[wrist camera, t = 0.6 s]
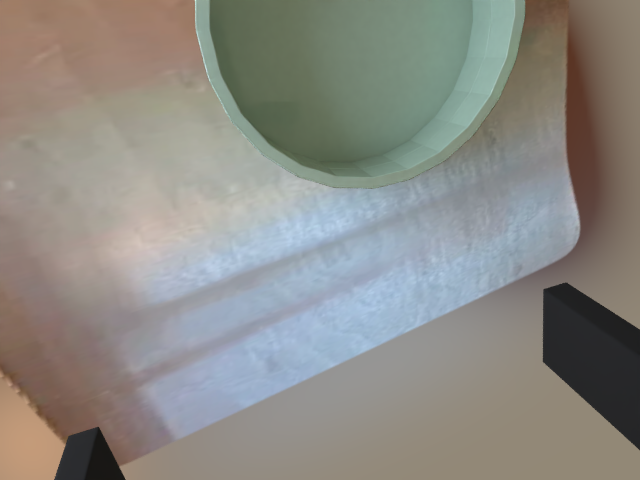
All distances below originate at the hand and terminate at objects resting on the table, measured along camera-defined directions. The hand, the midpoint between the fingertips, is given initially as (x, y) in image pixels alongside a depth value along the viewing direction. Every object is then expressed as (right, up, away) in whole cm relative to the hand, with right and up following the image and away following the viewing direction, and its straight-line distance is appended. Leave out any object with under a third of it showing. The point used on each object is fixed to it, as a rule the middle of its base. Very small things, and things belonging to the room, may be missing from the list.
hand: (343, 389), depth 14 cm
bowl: (+1, +19, +20) cm, 28 cm away
